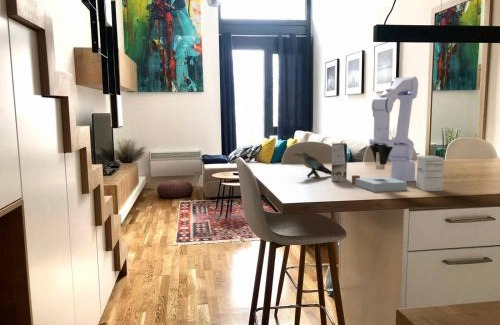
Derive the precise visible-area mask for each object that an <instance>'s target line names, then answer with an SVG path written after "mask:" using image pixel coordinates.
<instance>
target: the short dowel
mask: <svg viewBox="0 0 500 325" xmlns="http://www.w3.org/2000/svg"><path fill="white" fill-rule="evenodd" d="M356 178H361V175H358V174H356V175H351V185H353V184H355V180H356Z"/></svg>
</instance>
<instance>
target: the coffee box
mask: <svg viewBox="0 0 500 325" xmlns="http://www.w3.org/2000/svg"><path fill="white" fill-rule="evenodd" d="M347 166H348V144H347V143H346V142H337V143H334V142H333V143H331V171H332V176H331V182H336V181H339V182H341V183H346V182H347V175H348V174H347V169H348V167H347Z"/></svg>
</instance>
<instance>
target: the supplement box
mask: <svg viewBox="0 0 500 325" xmlns="http://www.w3.org/2000/svg"><path fill="white" fill-rule="evenodd" d="M444 160H445V158H444V157H442V156H437V155H417V162H416V186H415V188H418V189H419V190H421V191H425V192H442V191H443V184H444V183H443V181H444V164H445V163H444V162H445V161H444Z"/></svg>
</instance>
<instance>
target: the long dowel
mask: <svg viewBox="0 0 500 325" xmlns="http://www.w3.org/2000/svg"><path fill="white" fill-rule="evenodd" d="M385 165H386V164H383V165H381V164H380V156H379V152H376V163H375V169H376V170H378V171H379V170H385Z"/></svg>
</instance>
